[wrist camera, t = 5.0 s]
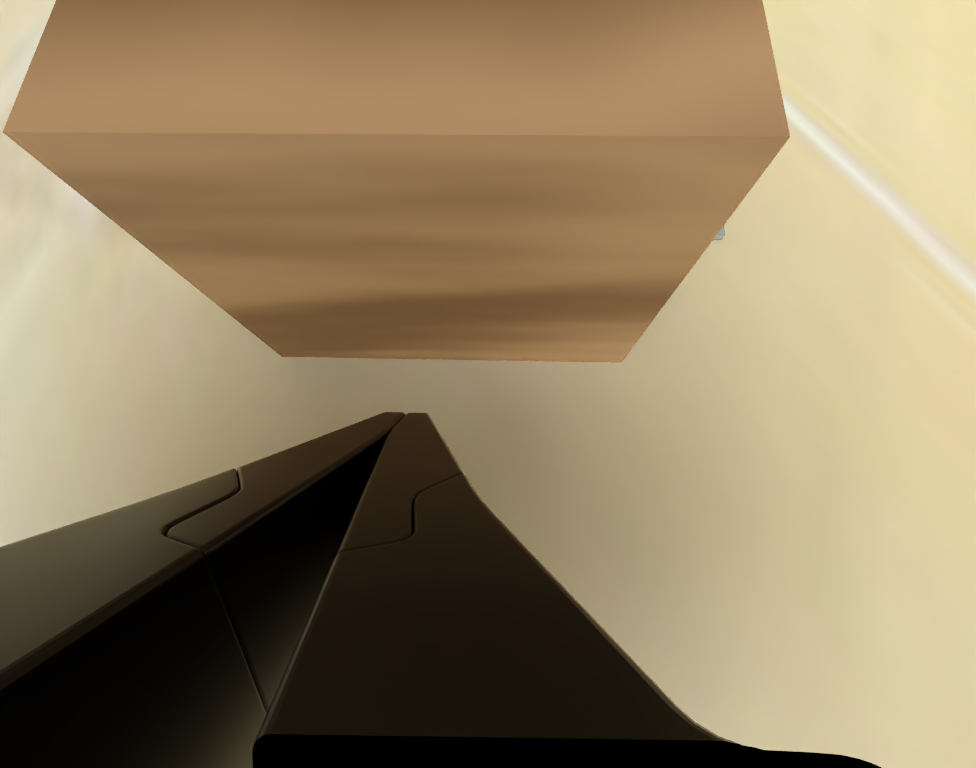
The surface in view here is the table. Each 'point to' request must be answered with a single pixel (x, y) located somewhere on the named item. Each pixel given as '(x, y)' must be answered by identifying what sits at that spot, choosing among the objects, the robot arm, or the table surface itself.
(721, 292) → the table surface
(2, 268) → the table surface
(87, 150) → the walnut block
